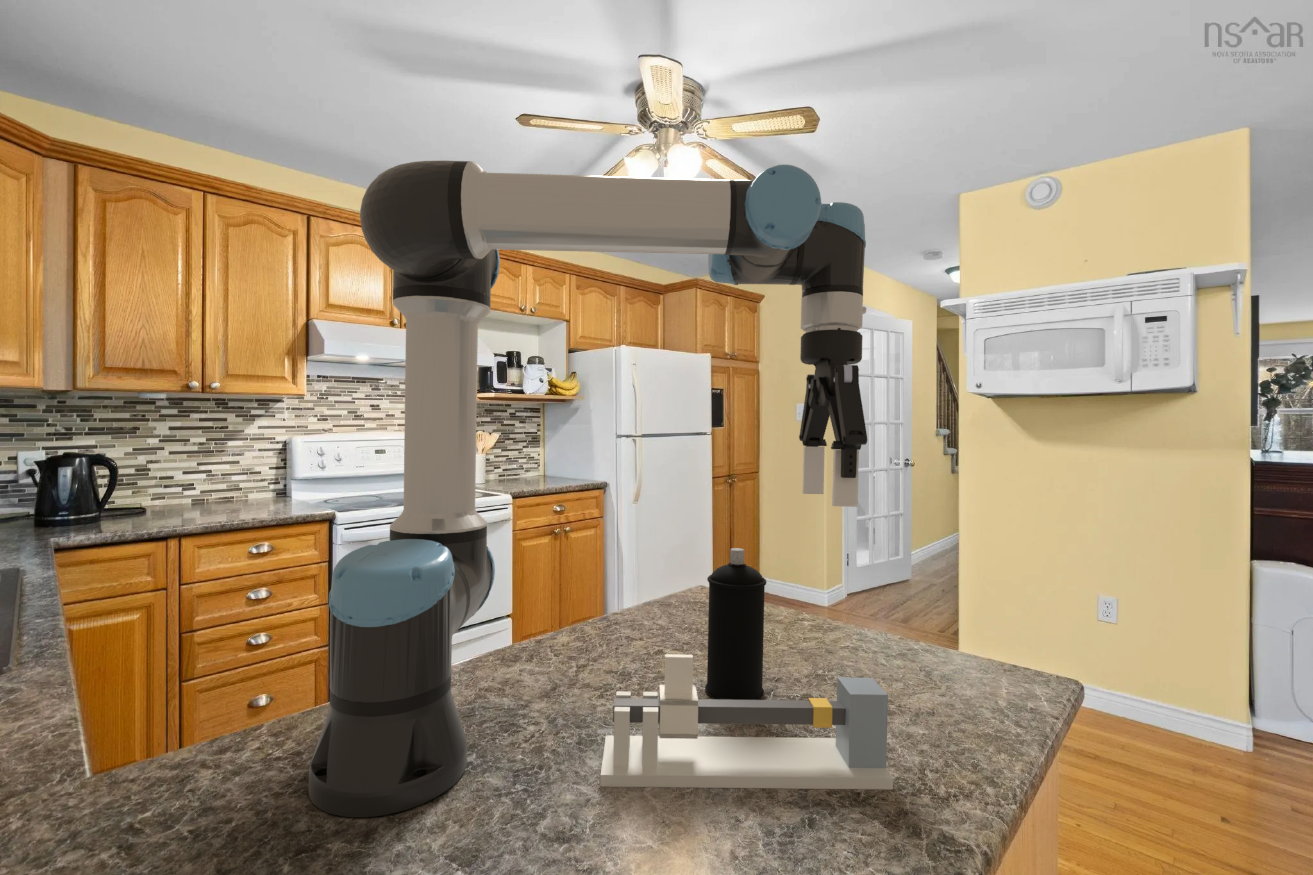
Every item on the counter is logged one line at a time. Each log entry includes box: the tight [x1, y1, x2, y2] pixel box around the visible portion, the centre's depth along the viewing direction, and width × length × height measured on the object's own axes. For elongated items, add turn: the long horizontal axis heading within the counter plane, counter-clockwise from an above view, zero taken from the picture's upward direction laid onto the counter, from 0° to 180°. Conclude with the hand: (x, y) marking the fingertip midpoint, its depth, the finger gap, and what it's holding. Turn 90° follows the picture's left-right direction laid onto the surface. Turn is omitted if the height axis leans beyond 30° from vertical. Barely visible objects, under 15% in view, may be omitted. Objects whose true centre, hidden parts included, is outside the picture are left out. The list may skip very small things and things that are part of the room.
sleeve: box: [658, 653, 699, 739], centre depth 66 cm, size 4×4×8 cm
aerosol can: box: [704, 547, 768, 700], centre depth 85 cm, size 8×8×20 cm
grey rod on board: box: [599, 676, 894, 791], centre depth 66 cm, size 30×8×9 cm, turn 91°
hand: (827, 499), depth 77 cm, fingers open, 13 cm apart
